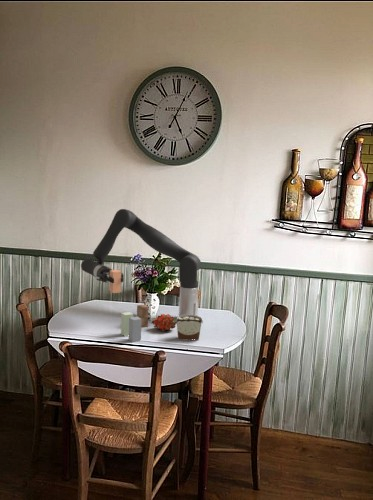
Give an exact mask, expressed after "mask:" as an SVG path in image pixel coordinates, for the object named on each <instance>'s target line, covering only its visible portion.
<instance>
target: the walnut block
mask: <svg viewBox="0 0 373 500" xmlns="http://www.w3.org/2000/svg"><path fill="white" fill-rule="evenodd" d="M136 317H139V318H141V329H142V328H148V327H149V306H148V305H146V304H139V305H138V304H137V306H136Z"/></svg>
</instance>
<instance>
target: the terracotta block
mask: <svg viewBox="0 0 373 500" xmlns="http://www.w3.org/2000/svg"><path fill="white" fill-rule="evenodd" d="M121 273H122V270H118V269H114V270H113V269H112V270H111V271H110V277H112V278H114V283H111V282H109V292H110V293H112V294H116V293H117V294H118V293H121V292H122V291H121V289H122V282H121Z"/></svg>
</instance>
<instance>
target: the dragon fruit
mask: <svg viewBox="0 0 373 500" xmlns="http://www.w3.org/2000/svg"><path fill="white" fill-rule="evenodd" d="M151 324H153V328H154V329H156V330H159V331H162V332H166V331H167V332H169V331H171V329H172V330H173V329H175V328H177V321H176V319H175V317H174V316H171V315H170V314H168V313H165V314H164V313H162V314H161V313H160V315H158V316H157V317H156V318H154V319H153V320H152V321H151Z"/></svg>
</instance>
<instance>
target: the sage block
mask: <svg viewBox="0 0 373 500" xmlns="http://www.w3.org/2000/svg"><path fill="white" fill-rule="evenodd" d="M130 317H134V313H132V312H130V311H126V312H121V317H120V319H121V320H120V321H121V322H120V335H121V336H123V335H124V336H126V337H129V336H128V335H129V318H130ZM124 336H123V337H124Z"/></svg>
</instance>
